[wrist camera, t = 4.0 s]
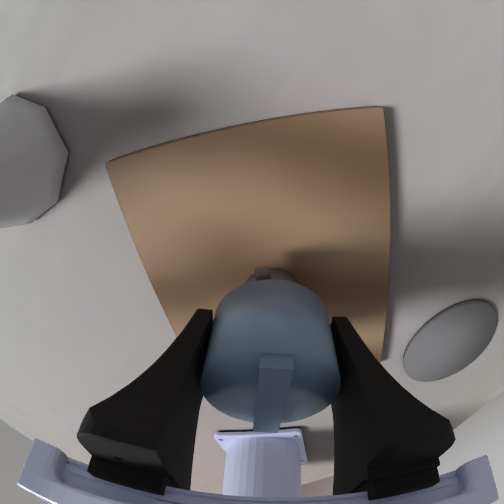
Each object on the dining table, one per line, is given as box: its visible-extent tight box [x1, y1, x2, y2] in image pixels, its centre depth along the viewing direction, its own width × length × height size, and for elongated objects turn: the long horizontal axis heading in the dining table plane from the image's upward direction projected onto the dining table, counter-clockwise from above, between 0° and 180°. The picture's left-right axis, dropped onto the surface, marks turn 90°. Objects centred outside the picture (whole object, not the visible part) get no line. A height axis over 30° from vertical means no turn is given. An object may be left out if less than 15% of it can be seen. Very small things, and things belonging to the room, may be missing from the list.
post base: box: [105, 106, 390, 363], centre depth 15 cm, size 16×12×3 cm
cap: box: [200, 279, 341, 433], centre depth 11 cm, size 5×5×4 cm
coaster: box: [403, 300, 497, 382], centre depth 18 cm, size 8×8×1 cm
